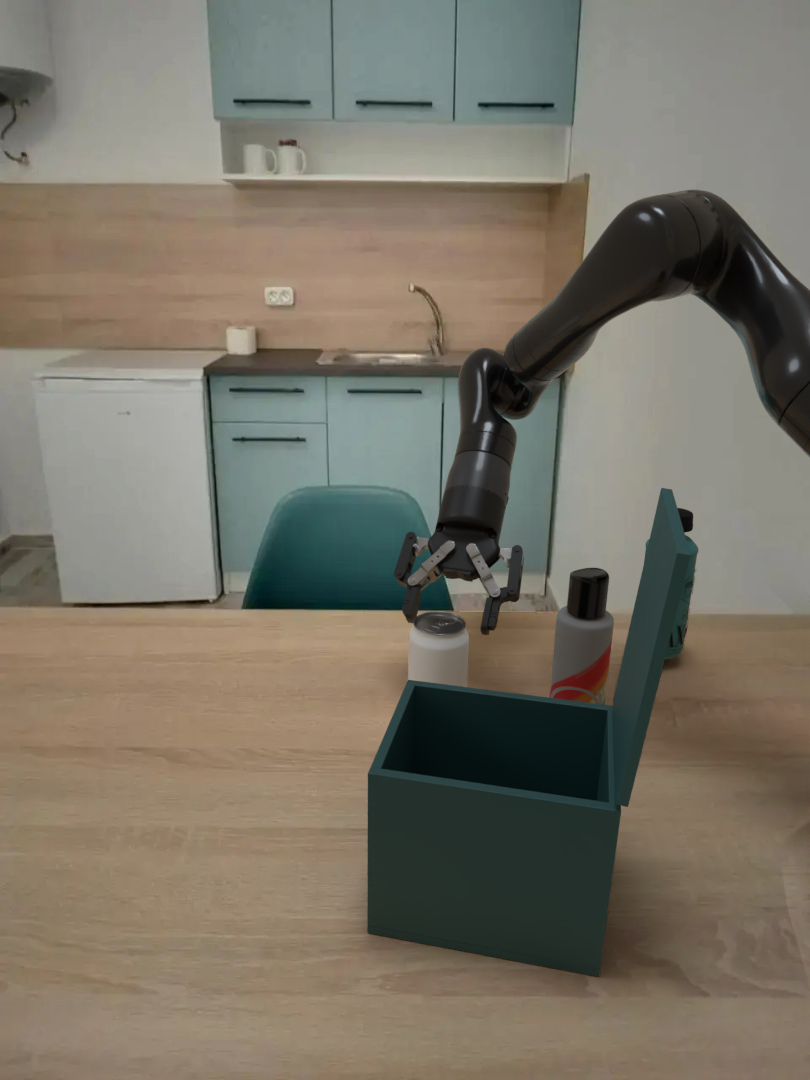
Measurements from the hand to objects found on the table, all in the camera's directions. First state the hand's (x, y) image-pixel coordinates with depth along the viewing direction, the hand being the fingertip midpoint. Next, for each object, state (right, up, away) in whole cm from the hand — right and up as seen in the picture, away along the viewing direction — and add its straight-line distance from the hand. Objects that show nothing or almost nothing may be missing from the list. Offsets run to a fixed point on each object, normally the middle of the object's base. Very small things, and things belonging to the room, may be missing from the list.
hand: (446, 626), depth 92 cm
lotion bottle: (+13, -12, -3) cm, 18 cm away
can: (-1, -11, +1) cm, 11 cm away
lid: (+12, +3, -33) cm, 36 cm away
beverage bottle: (+28, -6, +15) cm, 32 cm away
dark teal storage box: (+3, -19, -23) cm, 30 cm away
